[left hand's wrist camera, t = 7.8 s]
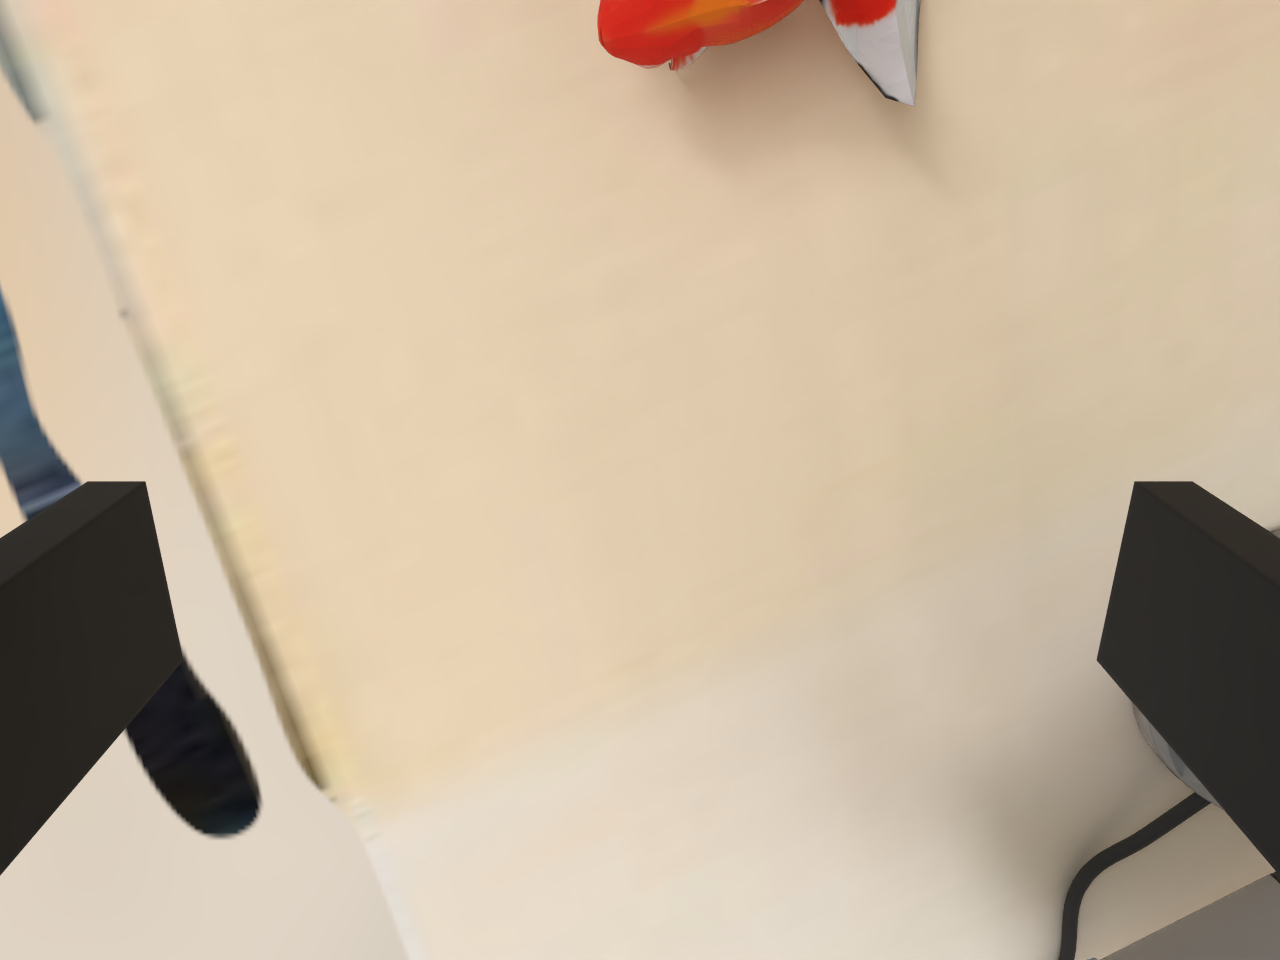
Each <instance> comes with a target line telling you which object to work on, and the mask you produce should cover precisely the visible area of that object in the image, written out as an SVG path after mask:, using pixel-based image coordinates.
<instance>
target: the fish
mask: <svg viewBox="0 0 1280 960" xmlns="http://www.w3.org/2000/svg"><path fill="white" fill-rule="evenodd" d="M802 1H803V0H601V1H600V6H599V12H598V34H599V41H600V43H601V45H602V46H603V47H604V48H605V49H606V50H607V52H608V53H610V54H611V55H612V56H614V57H617V58H620V59H623V60H626V61H629V62H631V63H634V64H636V65H639V66H641V67H644V68H656V67H659V66H660V65H662V64H663V63H665V62H666V61H668V60H670V59H671V64H670V63H669V67H670V70H677V71H679V70H680V69H682V68H684V67H686V66H687V65H689V64H691V63H693V62H694V61H695V60H696V59H697V58H698V57H699V56H700V55H701V53H702V52H703V51H704V50H705V49H706V48H707V46H716V45H725V44H730V43H734V42H737V41H740V40H743V39H745V38H748V37H750V36H752V35H755V34H757V33H759V32H761V31H763V30H765V29H767V28H769V27H771V26H772V25H774V24H776V23H777V22H778V21H780V20H781V19H783V18H784V17H785V16H787V15H788V14H789V13H791V12H792V11H793V10H794V9H795V8H797V7H798V6H799V5H800V4H801V3H802ZM820 2H821V4H822V6H823V8H824V10H825V11H826V13H827V15H828V17H829V19H830V21H831V22H832V24H833V26H834V28H835V30H836V31H837V33H838V35H839V37H840V38H841V40H842V42H843V44H844V45H845V47H846V48H847V49H848V51H849V52H850V54H851V55H852V56H853V58H854V59H855V61H856V62H857V63H858V65H859V66H860V67H861V68H862V70H863V71H864V72H865V73H866V75H867V76H868V77H869V78H870V79H871V81H872V82H873V83H874V84H875V85H876V87H877V88H878V89H879V90H880V92H881V93H882V94H883V95H884V96H885V98H888V99H891V100H895V101H898V102H901V103H905V104H908V105H912V106H915V92H916V77H917V52H918V25H919V11H920V2H921V0H820Z"/></svg>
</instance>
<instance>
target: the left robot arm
mask: <svg viewBox="0 0 1280 960" xmlns="http://www.w3.org/2000/svg"><path fill="white" fill-rule="evenodd" d="M182 661H183V656H182V652H181V647H180V642H179V637H178V633H177V628H176V623H175V619H174V614H173V609H172V605H171V600H170V595H169V590H168V586H167V581H166V576H165V572H164V567H163V562H162V557H161V553H160V548H159V543H158V539H157V534H156V529H155V524H154V520H153V515H152V510H151V506H150V501H149V496H148V491H147V487H146V482H86V483H85V484H83V485H82V486H80V487H78V488H77V489H75V490H74V491H72V492H71V493H69V494H68V495H66V496H65V497H63V498H62V499H60V500H58V501H57V502H55V503H54V504H52V505H51V506H49V507H48V508H46V509H45V510H43V511H42V512H40V513H38V514H37V515H35V516H34V517H32V518H31V519H29V520H28V521H26V522H25V523H23V524H21V525H20V526H18V527H17V528H15V529H14V530H12V531H11V532H9V533H8V534H6V535H5V536H3V537H1V538H0V875H1V874H2V873H3V872H4V870H5V869H6V868H7V867H8V866H9V865H10V863H11V862H12V861H13V860H14V859H15V857H16V856H17V855H18V854H19V853H20V851H21V850H22V849H23V848H24V847H25V846H26V845H27V843H28V842H29V841H30V840H31V839H32V837H33V836H34V835H35V834H36V833H37V832H38V830H39V829H40V828H41V827H42V826H43V825H44V823H45V822H46V821H47V820H48V819H49V817H50V816H51V815H52V814H53V813H54V812H55V810H56V809H57V808H58V807H59V806H60V805H61V803H62V802H63V801H64V800H65V799H66V797H67V796H68V795H69V794H70V793H71V792H72V790H73V789H74V788H75V787H76V786H77V785H78V783H79V782H80V781H81V780H82V779H83V777H84V776H85V775H86V774H87V773H88V772H89V770H90V769H91V768H92V767H93V766H94V765H95V763H96V762H97V761H98V760H99V759H100V757H101V756H102V755H103V754H104V753H105V752H106V750H107V749H108V748H109V747H110V746H111V745H112V743H113V742H114V741H115V740H116V739H117V737H118V736H119V735H120V734H121V733H122V732H123V730H124V729H125V728H126V727H127V726H128V725H129V723H130V722H131V721H132V720H133V719H134V717H135V716H136V715H137V714H138V713H139V712H140V710H141V709H142V708H143V707H144V706H145V705H146V703H147V702H148V701H149V700H150V699H151V697H152V696H153V695H154V694H155V693H156V692H157V690H158V689H159V688H160V687H161V686H162V685H163V683H164V682H165V681H166V680H167V679H168V677H169V676H170V675H171V674H172V673H173V672H174V670H175V669H176V668H177V667H178V666H179V665H180V663H181V662H182ZM1097 661H1098V662H1099V663H1100V665H1101V666H1102V667H1103V668H1104V669H1105V670H1106V672H1107V673H1108V674H1109V675H1110V676H1111V677H1112V679H1113V680H1114V681H1115V682H1116V683H1117V685H1118V686H1119V687H1120V688H1121V689H1122V690H1123V692H1124V693H1125V694H1126V695H1127V696H1128V697H1129V699H1130V700H1131V701H1132V702H1133V707H1134V713H1135V716H1136V719H1137V723H1138V725H1139V728H1140V730H1141V732H1142V734H1143V736H1144V738H1145V739H1146V741H1147V742H1148V744H1149V745H1150V747H1151V748H1152V749H1153V750H1154V751H1155V753H1156V754H1157V755H1158V756H1159V758H1160V759H1161V760H1162V761H1163V762H1164V764H1165V765H1166V766H1167V767H1168V769H1169V770H1170V771H1171V772H1172V773H1173V774H1174V775H1175V776H1176V777H1177V778H1179V779H1180V780H1181V781H1182V782H1184V783H1185V784H1186V785H1187V786H1188V787H1189V788H1190V789H1192V790H1193V791H1194V792H1195V793H1193V794H1192V795H1190V796H1189V797H1187V798H1186V799H1184V800H1183V801H1182V802H1180V803H1179V804H1177V805H1176V806H1174V807H1173V808H1172V809H1170V810H1169V811H1167V812H1166V813H1164V814H1163V815H1161V816H1160V817H1159V818H1157V819H1156V820H1154V821H1153V822H1151V823H1150V824H1148V825H1147V826H1145V827H1144V828H1142V829H1141V830H1139V831H1138V832H1136V833H1135V834H1133V835H1131V836H1130V837H1128V838H1126V839H1124V840H1122V841H1120V842H1118V843H1117V844H1115V845H1113V846H1111V847H1109V848H1107V849H1105V850H1104V851H1102V852H1100V853H1099V854H1097V855H1096V856H1095V857H1093V858H1092V859H1091V860H1089V861H1088V862H1087V863H1086V864H1085V865H1084V866H1083V868H1082V869H1081V870H1080V871H1079V873H1078V874H1077V876H1076V877H1075V879H1074V880H1073V882H1072V884H1071V887H1070V889H1069V891H1068V894H1067V897H1066V901H1065V905H1064V912H1063V924H1062V942H1061V951H1060V957H1059V960H1074V958H1075V952H1076V941H1077V924H1078V914H1079V908H1080V904H1081V900H1082V898H1083V896H1084V893H1085V891H1086V890H1087V888H1088V887H1089V885H1090V884H1091V882H1092V881H1093V880H1094V879H1095V878H1096V877H1097V876H1098V875H1099V874H1100V873H1101V872H1102V871H1104V870H1105V869H1106V868H1108V867H1109V866H1111V865H1113V864H1114V863H1116V862H1118V861H1120V860H1122V859H1124V858H1126V857H1128V856H1130V855H1132V854H1134V853H1135V852H1137V851H1139V850H1141V849H1143V848H1144V847H1146V846H1148V845H1149V844H1151V843H1152V842H1154V841H1155V840H1157V839H1158V838H1160V837H1161V836H1163V835H1164V834H1166V833H1167V832H1169V831H1170V830H1172V829H1173V828H1175V827H1176V826H1178V825H1179V824H1181V823H1182V822H1184V821H1185V820H1187V819H1188V818H1189V817H1191V816H1192V815H1194V814H1195V813H1197V812H1198V811H1200V810H1201V809H1203V808H1204V807H1206V806H1207V805H1209V804H1210V803H1213V804H1215V805H1216V806H1218V807H1220V808H1221V809H1223V810H1225V812H1226V813H1227V814H1228V815H1229V816H1230V817H1231V819H1232V820H1233V821H1234V822H1235V823H1236V825H1237V826H1238V827H1239V828H1240V829H1241V830H1242V832H1243V833H1244V834H1245V835H1246V836H1247V837H1248V839H1249V840H1250V841H1251V842H1252V843H1253V845H1254V846H1255V847H1256V848H1257V849H1258V850H1259V852H1260V853H1261V854H1262V855H1263V856H1264V857H1265V859H1266V860H1267V861H1268V862H1269V863H1270V865H1271V866H1272V867H1273V868H1274V869H1275V870H1276V872H1274V873H1272V874H1270V875H1267V876H1265V877H1263V878H1261V879H1259V880H1257V881H1255V882H1253V883H1251V884H1249V885H1247V886H1245V887H1243V888H1241V889H1239V890H1237V891H1235V892H1233V893H1231V894H1229V895H1227V896H1225V897H1223V898H1222V899H1220V900H1218V901H1216V902H1214V903H1212V904H1210V905H1208V906H1206V907H1204V908H1202V909H1200V910H1198V911H1196V912H1194V913H1192V914H1190V915H1188V916H1186V917H1184V918H1182V919H1180V920H1178V921H1176V922H1174V923H1172V924H1170V925H1168V926H1166V927H1164V928H1162V929H1160V930H1158V931H1156V932H1154V933H1152V934H1150V935H1148V936H1146V937H1144V938H1142V939H1140V940H1138V941H1136V942H1134V943H1133V944H1131V945H1129V946H1127V947H1125V948H1123V949H1121V950H1119V951H1117V952H1115V953H1113V954H1111V955H1109V956H1107V957H1105V958H1103V959H1101V960H1280V530H1277V531H1274V532H1269V531H1268V530H1266V529H1265V528H1263V527H1262V526H1260V525H1259V524H1257V523H1255V522H1254V521H1252V520H1251V519H1249V518H1248V517H1246V516H1245V515H1243V514H1242V513H1240V512H1238V511H1237V510H1235V509H1234V508H1232V507H1231V506H1229V505H1228V504H1226V503H1225V502H1223V501H1222V500H1220V499H1218V498H1217V497H1215V496H1214V495H1212V494H1211V493H1209V492H1208V491H1206V490H1205V489H1203V488H1202V487H1200V486H1198V485H1197V484H1195V483H1194V482H1134V487H1133V491H1132V496H1131V501H1130V506H1129V510H1128V515H1127V520H1126V524H1125V529H1124V534H1123V539H1122V543H1121V548H1120V553H1119V557H1118V562H1117V567H1116V571H1115V576H1114V581H1113V586H1112V590H1111V595H1110V600H1109V604H1108V609H1107V614H1106V619H1105V623H1104V628H1103V633H1102V637H1101V642H1100V647H1099V652H1098V656H1097ZM1088 960H1097V959H1096V958H1091V959H1088Z"/></svg>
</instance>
